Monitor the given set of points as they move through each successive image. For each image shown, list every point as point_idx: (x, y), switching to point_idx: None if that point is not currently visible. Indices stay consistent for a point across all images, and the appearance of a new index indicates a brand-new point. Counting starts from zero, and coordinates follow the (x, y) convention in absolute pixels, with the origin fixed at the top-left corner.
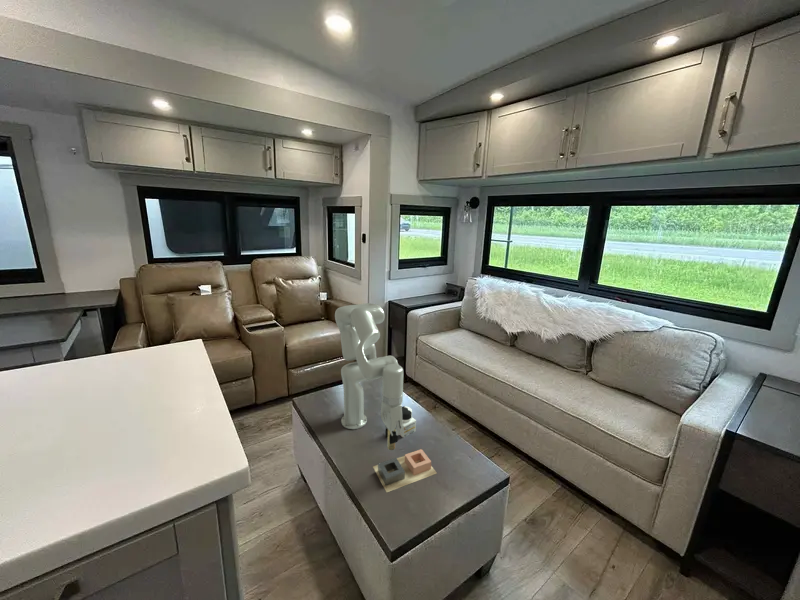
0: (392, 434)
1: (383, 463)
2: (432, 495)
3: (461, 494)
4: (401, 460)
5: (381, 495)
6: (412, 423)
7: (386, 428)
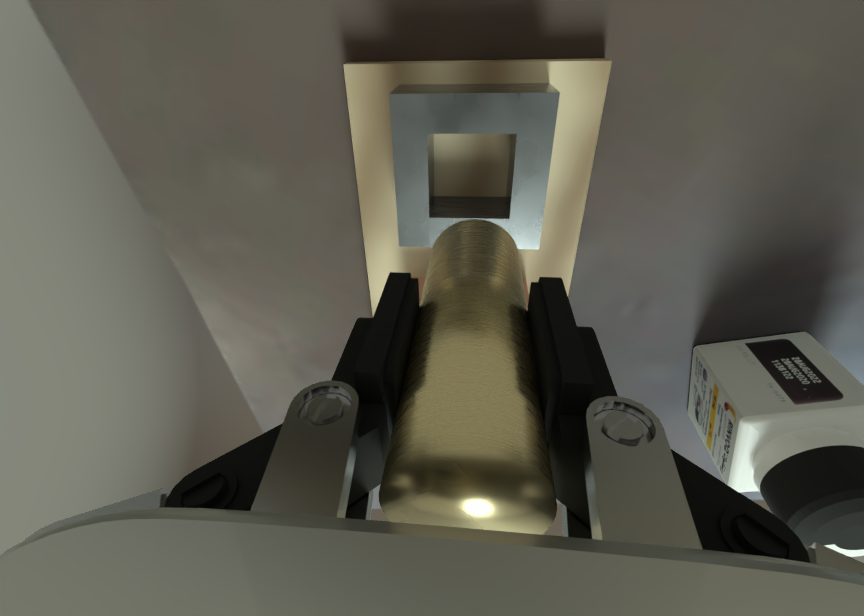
0: (288, 426)
1: (536, 139)
2: (287, 292)
3: (266, 385)
4: (544, 268)
5: (363, 27)
6: (727, 462)
7: (579, 398)
